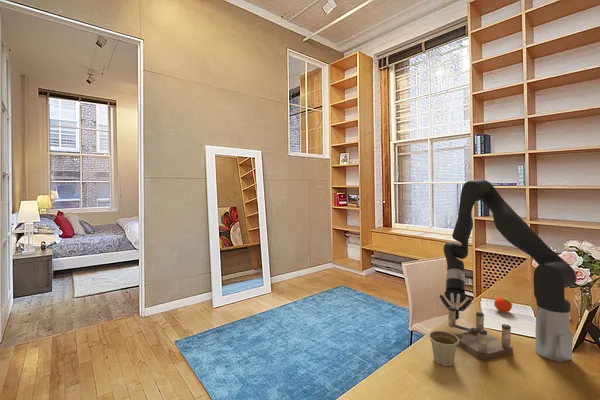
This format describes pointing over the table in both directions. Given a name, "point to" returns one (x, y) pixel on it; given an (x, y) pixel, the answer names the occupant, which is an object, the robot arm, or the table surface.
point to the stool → (485, 341)
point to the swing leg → (452, 321)
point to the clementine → (503, 304)
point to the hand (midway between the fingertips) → (455, 319)
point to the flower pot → (443, 347)
